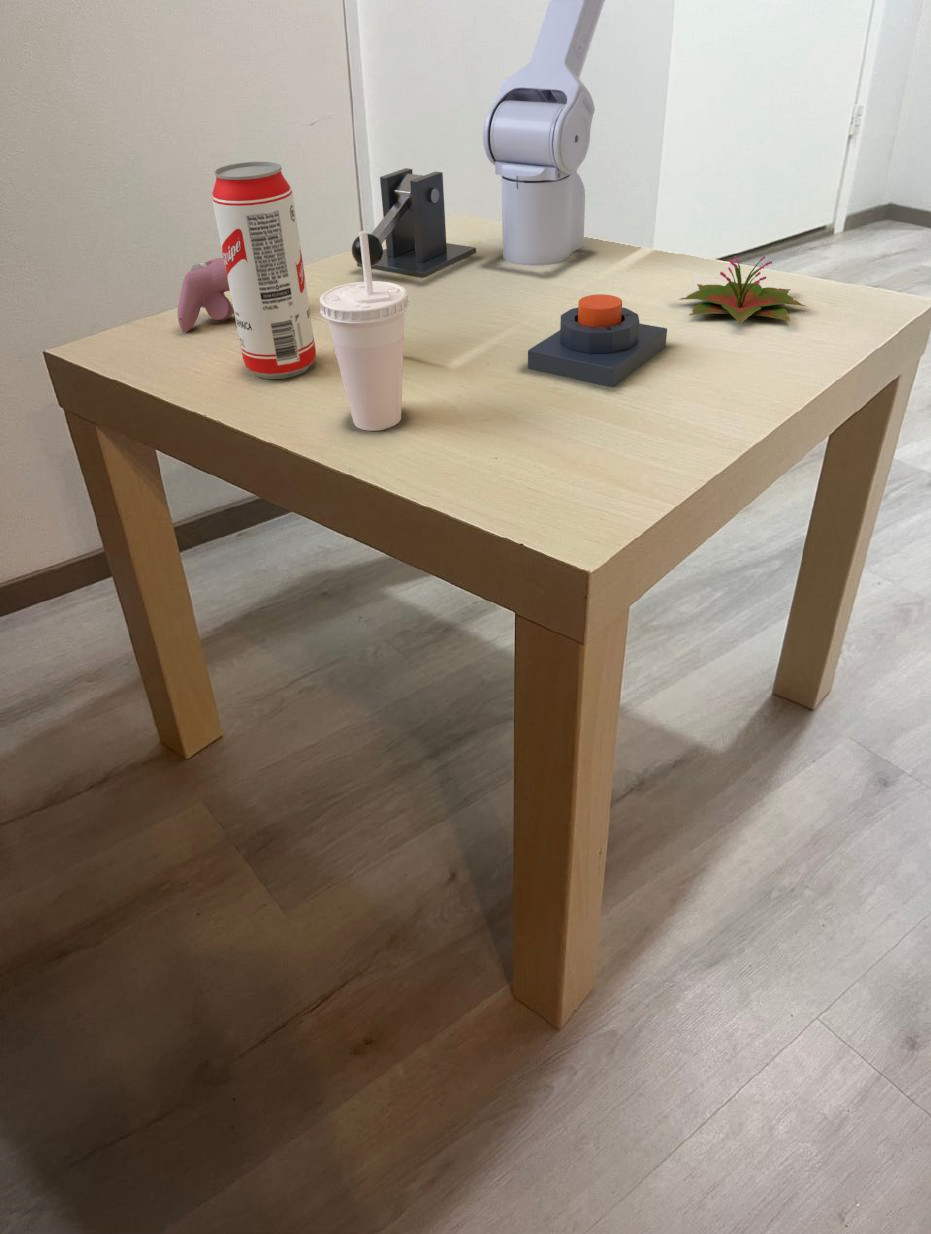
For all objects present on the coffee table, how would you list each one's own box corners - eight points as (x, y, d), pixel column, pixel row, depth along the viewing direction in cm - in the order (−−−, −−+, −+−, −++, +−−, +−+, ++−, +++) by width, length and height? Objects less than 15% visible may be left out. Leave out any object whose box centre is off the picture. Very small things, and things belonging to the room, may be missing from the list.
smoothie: (386, 445, 69) (365, 249, 60) (318, 428, 72) (289, 238, 63) (434, 412, 73) (421, 224, 64) (368, 396, 76) (348, 214, 67)
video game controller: (288, 335, 92) (286, 260, 91) (274, 329, 88) (272, 251, 86) (192, 335, 93) (188, 262, 92) (173, 330, 89) (169, 252, 87)
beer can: (257, 388, 78) (219, 182, 68) (236, 363, 83) (197, 167, 73) (328, 372, 80) (300, 170, 71) (303, 348, 85) (274, 156, 75)
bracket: (423, 284, 98) (416, 189, 92) (357, 272, 102) (347, 181, 97) (476, 258, 104) (473, 168, 99) (412, 248, 109) (406, 161, 103)
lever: (376, 275, 96) (365, 250, 93) (353, 271, 97) (341, 246, 95) (436, 199, 100) (426, 172, 97) (412, 195, 101) (402, 169, 99)
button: (590, 312, 80) (591, 291, 79) (628, 319, 78) (629, 298, 77) (569, 325, 78) (570, 304, 77) (608, 333, 76) (609, 311, 75)
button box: (585, 331, 85) (586, 293, 83) (665, 347, 81) (669, 307, 79) (527, 369, 79) (527, 329, 77) (612, 388, 75) (614, 346, 73)
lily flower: (681, 285, 94) (686, 238, 91) (806, 291, 91) (815, 242, 88) (669, 328, 85) (674, 277, 82) (807, 335, 82) (817, 283, 79)
